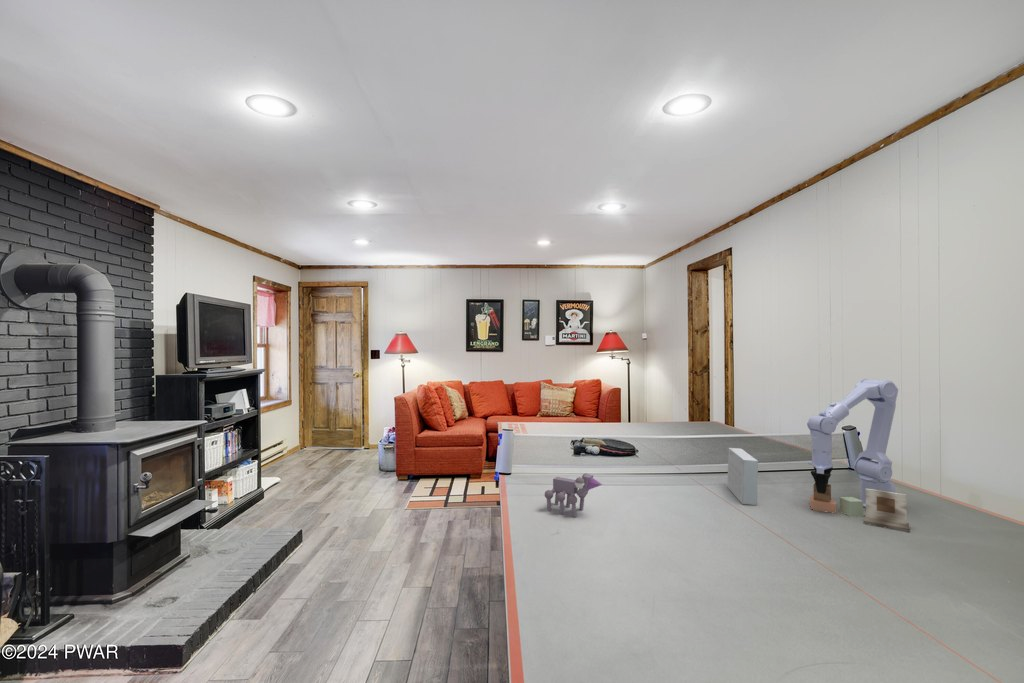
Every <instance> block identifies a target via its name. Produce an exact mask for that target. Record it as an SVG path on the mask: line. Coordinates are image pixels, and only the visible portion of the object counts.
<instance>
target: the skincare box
mask: <svg viewBox="0 0 1024 683" xmlns="http://www.w3.org/2000/svg"><path fill="white" fill-rule="evenodd" d="M727 455H728V458H727V460H728V461H727V484H726V485H727V486H726V487H727V488H728V490H729V491H730V492H731V493H732V494H733V495H734V496H735V497H736V499H738V501H739V502H740V503H741V504H742V505H753V506H757V505H758V482H759V481H758V476H759V474H758V473H759V470H758V469H759V460H758V459H756V458H755V457H753V456H752V455H751V454H749V453H748V452H746V451H745V450H744V449H743V448H740V447H739V448H737V447H728V454H727Z"/></svg>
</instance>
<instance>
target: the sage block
mask: <svg viewBox="0 0 1024 683" xmlns="http://www.w3.org/2000/svg"><path fill="white" fill-rule="evenodd" d="M859 499H860V498H857V497H854V496H840V497H839V512H840V511H841V512H840V513H842V512H843V513H842V514H844V513H845V514H844V515H846V514H847V515H846V516H848V515H849V516H848V517H850V516H856V517H864V506H863V501H861V500H859Z"/></svg>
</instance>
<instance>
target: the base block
mask: <svg viewBox="0 0 1024 683" xmlns="http://www.w3.org/2000/svg"><path fill="white" fill-rule="evenodd" d="M810 506H811V507H810ZM809 507H810V510H811V509H813V510H812V511H814V510H820V511H819V512H821V511H827V512H826V513H828V512H833V513H832V514H835V513H836V514H837V503H836V500H835V498H833V497H831V500H830V502H824V501H818V500H814V494H811V495H809Z"/></svg>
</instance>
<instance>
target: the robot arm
mask: <svg viewBox="0 0 1024 683" xmlns="http://www.w3.org/2000/svg"><path fill="white" fill-rule="evenodd" d="M898 392H899V388H898V387H897V385H896V384H895V383H894V382H893V381H892V380H888V379H887V380H880V379H869V378H863V379H861V380H860V381H859V382H857V383H856V384H855V388H854V389H853V390H852V391H851V392H849V393H848V394H847V395H846V397H844V398H843V399H842V400H840V401H839V402H838V401H834V402H831V403H830V404H829V406H827V407H826V408H825V409H824V410H822V411H820V412H819V414H818V415H817V414H815V415H812V416H811V417H810V418H809V419H808V422H806V426H807V428H808V429H809V434H810V436H811V461H810V460H809V461H807V464H808V465H811V466H812V467H813V470H810V475H811V476H812V478H813V479H814V484H816V489H817V492H818V493H823V494H825V492H826V487H827V484H829V479H830V478H831V476H832V474H831V472H833V454H832V453H833V451H832V450H833V449H832V448H833V447H832V446H833V445H832V443H833V442H832V434H833V433H834V432H835V431H836V428H837V426H838V425H839V423H840V422H842V421H844V419H845V418H846V417H848V416H849V414H850V410H851V409H853V408H854V407H855V406H857V405H859V404H860V403H861V402H863V401H864V400H867V401H869V402H870V403H871V404H872V405H873V407H874V411H873V416H872V420H871V424H870V430H869V434H868V440H867V444H866V448H865V450H863V451H861V452H860V453H858V456H857V459H856V460H855V462H854V463H853V469H854V472H855V473H856V475H857V477H858V478H859V496H860V497H859V498H858V499H859V500H861V501H863V508H866V489H873V490H879V491H886V492H893V493H897V490H896V487H895V484H894V483H893V481H891V478H892V476H893V470H892V468H893V467H892V464H893V461H892V460H891V459H890V458H889V457H888V456H887V455H886V452H887V448H888V444H889V441H890V440H889V438H890V435H891V429H892V427H893V426H892V425H893V422H894V421H893V420H894V416H895V411H896V405H897V404H896V402H897V397H898Z"/></svg>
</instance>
